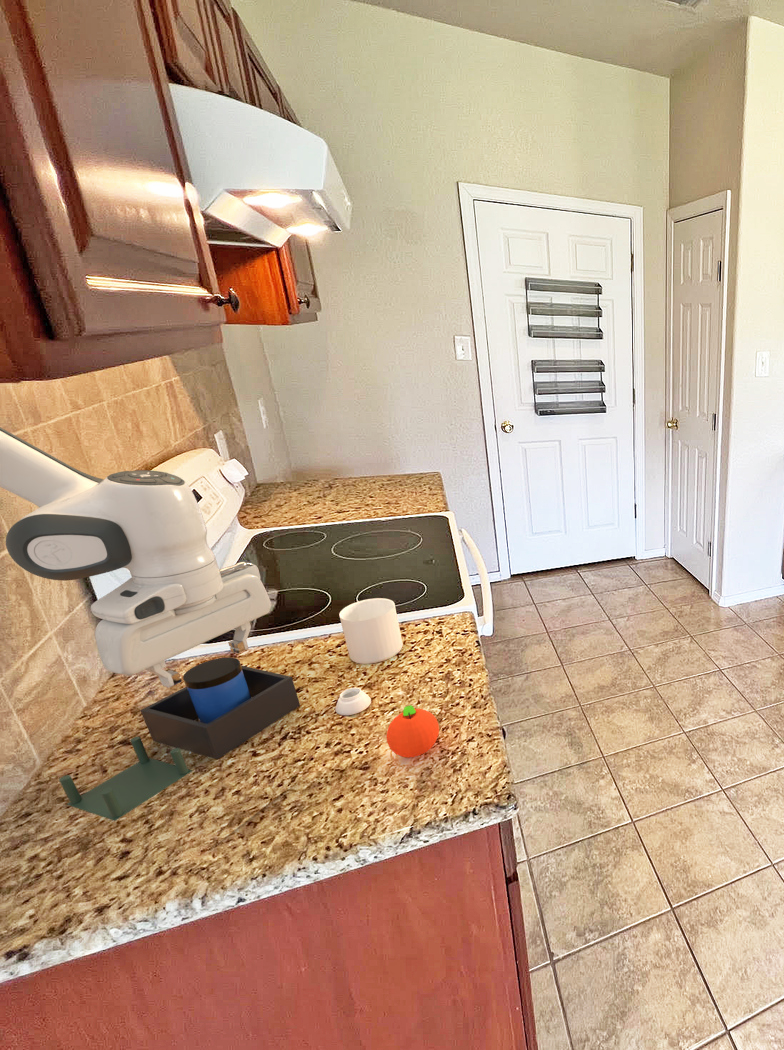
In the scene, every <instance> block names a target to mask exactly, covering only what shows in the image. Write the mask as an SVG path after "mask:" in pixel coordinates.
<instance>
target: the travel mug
mask: <svg viewBox="0 0 784 1050" xmlns="http://www.w3.org/2000/svg"><path fill="white" fill-rule="evenodd" d="M241 665H242V664H241V660H239V659H238V658H236V657H218V658H214V659H210V660H207V661H204V662H201V663H199V664H197V665H194V666H192V667H191V668H190V669H188V670H187V671H186V672H184V674H183V675H182V681H183V682H184V686H185V687H187V689H188V692H189V694H190V697H191V700H192V702H193V705H194V708H195V710H196V713H197V716H198V722H202V723H205V724H208V723H210V722H212V721H213V720H215V719H217V718H218V717H220V716H222V715H223V714H225V713H227V712H229V711H230V710H232V709H234V708H235V707H237V706H239V705H240V704H242V703H244V702H246V701H247V700H249V699H251V698H252V697H251V695H250V692H249V689H248V686H247V683H246V680H245V677H244V674H243V671H242V667H241Z"/></svg>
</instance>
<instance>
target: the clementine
mask: <svg viewBox="0 0 784 1050" xmlns="http://www.w3.org/2000/svg"><path fill="white" fill-rule="evenodd" d="M439 734H440V726H439V721H438V719H437V718H436V716H435V715H434V714H433V713H432V712H430V711H428V710H426V709H424V708H415V707H414V706H413V705H411V704H409V705H406V706H405V707H404V708H403V711H402V712H400V713H399V714H398V715H396V716H395V717H394V718H393V719H392V720H391V722H390V723H389V725H388V728H387V730H386V743H387V745H388V747H389V749H390V750H391V751H392V752H393V753H394V754H395V755H397V756H400V757H403V758H415V757H418V756H421V755H424V754H425V753H427V752H429V750H431V748H433V746H434V745H435V743H437V739H438V737H439Z"/></svg>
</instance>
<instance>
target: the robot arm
mask: <svg viewBox="0 0 784 1050" xmlns="http://www.w3.org/2000/svg"><path fill="white" fill-rule="evenodd" d="M0 488H2V489H3V490H5V491H8V492H9V493H12V494H14V495H15V496H17V497H20V498H22V499H23V500H25V501H28V502H30V503H32V504H33V505H35V506H36V507H38V508H37V509H35V510H33V511H31V512H30V513H28V514H26V515H24V516H23V517H21V518H20V519H19V520H18V521H16V522H15V523H14V524H13V525H12V526H11V527H10V528H9V529H8V530H7V531H8V532H7V533H6V537H5V547H6V550H7V553H8V555H9V556H10V558H11V559H12V560H13V562H15V564H16V565H18V566H19V567H20V568H22V569H23V570H25V571H26V572H28V573H30V574H32V575H34V576H37V577H40V578H42V579H46V580H53V581H64V582H65V581H66V582H67V581H74V580H75V581H77V580H81V579H86V578H90V577H94V576H99V575H103V574H107V573H110V572H113V571H117V570H120V569H127V570H128V571H129V573H130V576H131V577H130V578H128V579H127V580H126V581H125V582H123V583H122V584H120V585H119V586H118V587H116V588H114V589H113V590H111V591H110V592H108V593H107V594H105V595H104V596H102V597H100V598H98V599H97V600H96V601H94V602H92V604H91V605H90V610H91V613H92V615H93V616H94V617H96V618H98V619H101V620H100V621H99V622H98V624H97V625H96V627H95V630H94V631H95V632H94V637H95V643H96V647H97V651H98V654H99V655H98V656H99V658H100V662H101V663H102V665H103V667H104V668H105V670H106V671H109V672H111V673H113V674H117V675H121V676H125V677H126V676H128V677H132V676H134V675H136V674H138V673H141V672H143V671H147V672H149V673H151V674H153V675H155V676H156V677H158V679H159V681H160V685H161V686H163V687H165V688H168V689H169V688H171V687H174V686H177V685H178V684H180V683H181V682H182V681H183V679H182V678H181V674H180V672H179V671H174V670H172V669H169V670H165V669H164V668H166V667H167V663H166V661H168V660H169V659H172V658H173V657H176V656H178V655H180V654H183V653H185V652H187V651H188V650H191V649H193V648H195V647H198V646H200V645H202V644H204V643H207V642H209V641H211V640H213V639H215V638H217V637H219V636H222V635H224V634H226V633H229V632H230V631H233V630H234V635H233V639H232V640H230V641H228V642H227V644H228V646H229V647H230V648H229V650H230V652H232V653H233V654H234V653H236V654H240V653H242V652H245V651H246V650H248V649H249V644H248V641H247V640H248V637H249V635H250V632H251V629H252V625H251V622H252V621H255V620H257V619H259V618H261V617H264V616H265V615H268V614H269V612H270V610H271V608H272V602H271V599H270V596H269V594H268V592H267V589H266V588H265V585H264V584H263V582H262V580H261V574H260V571H259V567H258V566H257V565H256V564H254V563H252V562H247V561H240V562H236V563H234V564H232V565H230V566H226V567H222V568H219V565H218V562H217V558H216V555H215V553H214V551H213V550H212V549H211V547H210V546H209V544H208V541H207V540H208V539H207V535H208V528H207V524H206V522H205V518H204V516H203V513H202V510H201V508H200V505H199V502H198V501H197V498H196V496H195V494H194V492H193V490H192V489H191V487H190V485H189V484H188V483H187V482H186V481H185V480H184V479H183V478H182V477H179V476H178V475H175V474H172V473H169V472H166V471H159V470H146V469H136V470H135V469H134V470H124V471H118V472H113V473H111V474H109V475H107V476H106V477H105V478H104V479H103V478H101V477H96V476H93V475H91V474H88V473H86V472H83V471H81V470H79V469H77V468H75V467H73V466H71V465H69V464H67V463H66V462H64V461H62V460H60V459H58V457H57V458H56V457H55V456H53V455H51V454H49V453H48V452H46V451H44V450H42V449H40V448H39V447H37V446H35V445H33V444H32V443H30V442H28V441H26V440H24V439H23V438H20V437H18V436H17V435H15V434H13V433H12V432H10V431H8V430H6V429H4V428H2V427H1V426H0Z"/></svg>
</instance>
